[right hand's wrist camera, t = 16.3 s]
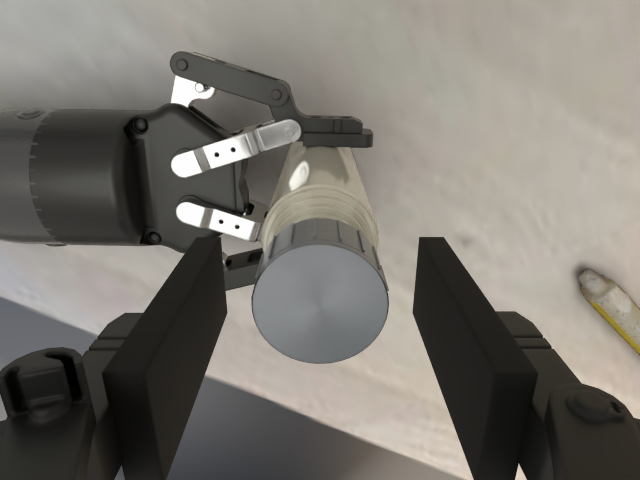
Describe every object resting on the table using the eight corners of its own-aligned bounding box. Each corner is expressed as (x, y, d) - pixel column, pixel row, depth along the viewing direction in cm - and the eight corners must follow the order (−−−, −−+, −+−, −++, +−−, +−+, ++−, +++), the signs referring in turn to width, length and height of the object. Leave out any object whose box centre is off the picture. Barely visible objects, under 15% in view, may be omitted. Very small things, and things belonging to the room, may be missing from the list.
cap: (395, 229, 14) (407, 257, 12) (365, 334, 15) (371, 375, 13) (270, 204, 14) (262, 229, 12) (251, 314, 15) (240, 353, 13)
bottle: (310, 202, 32) (298, 384, 14) (275, 149, 31) (211, 277, 13) (364, 169, 31) (424, 319, 13) (330, 113, 30) (346, 195, 12)
